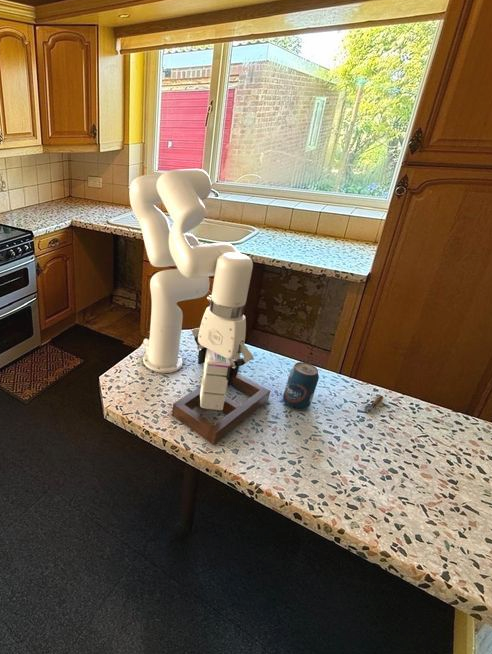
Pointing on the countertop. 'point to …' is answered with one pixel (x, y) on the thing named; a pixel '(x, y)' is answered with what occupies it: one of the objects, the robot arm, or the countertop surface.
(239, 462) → the countertop surface
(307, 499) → the countertop surface
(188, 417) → the caddy
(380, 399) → the can opener
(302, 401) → the soda can
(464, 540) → the countertop surface
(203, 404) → the syrup box
